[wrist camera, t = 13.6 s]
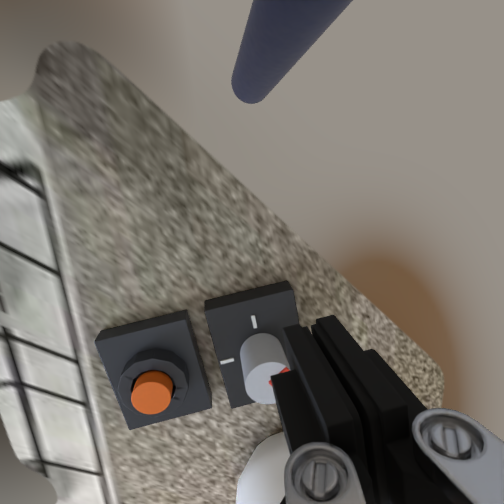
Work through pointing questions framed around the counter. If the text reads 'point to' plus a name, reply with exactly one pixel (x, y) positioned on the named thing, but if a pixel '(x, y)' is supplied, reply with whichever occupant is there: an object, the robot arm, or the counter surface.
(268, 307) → the timer panel
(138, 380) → the button
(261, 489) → the cup
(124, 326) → the block
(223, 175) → the counter surface
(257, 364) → the timer knob
